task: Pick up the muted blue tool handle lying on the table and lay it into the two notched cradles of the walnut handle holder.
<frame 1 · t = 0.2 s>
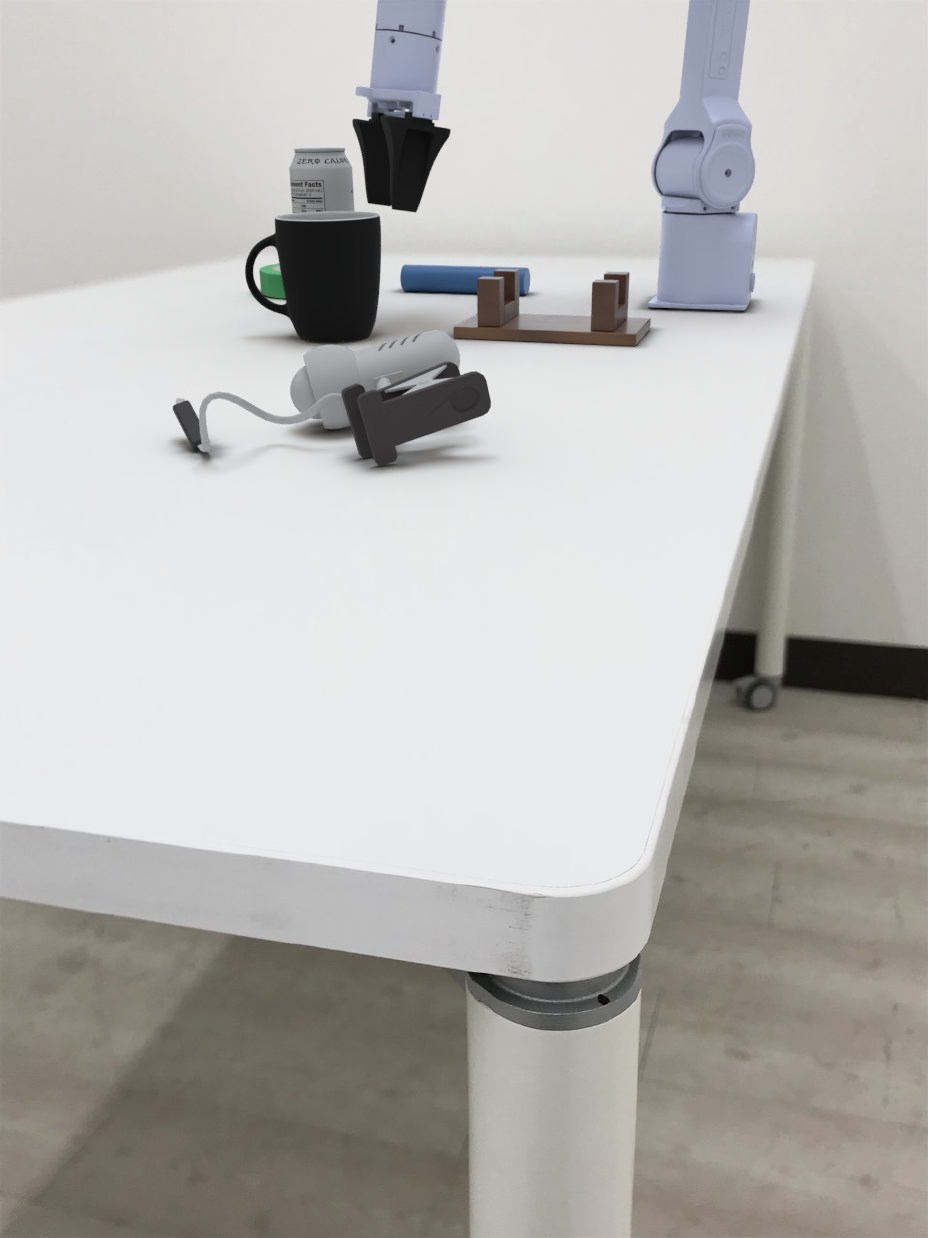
hand: (391, 207, 98), 10 cm above the table, tool pointing down, fingers open, 7 cm apart
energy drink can: (329, 311, 112), on the table
tape roll: (311, 293, 123), on the table
mug: (318, 338, 98), on the table
clip-on lamp: (328, 446, 67), on the table
holder: (553, 333, 98), on the table
handle: (465, 292, 121), on the table
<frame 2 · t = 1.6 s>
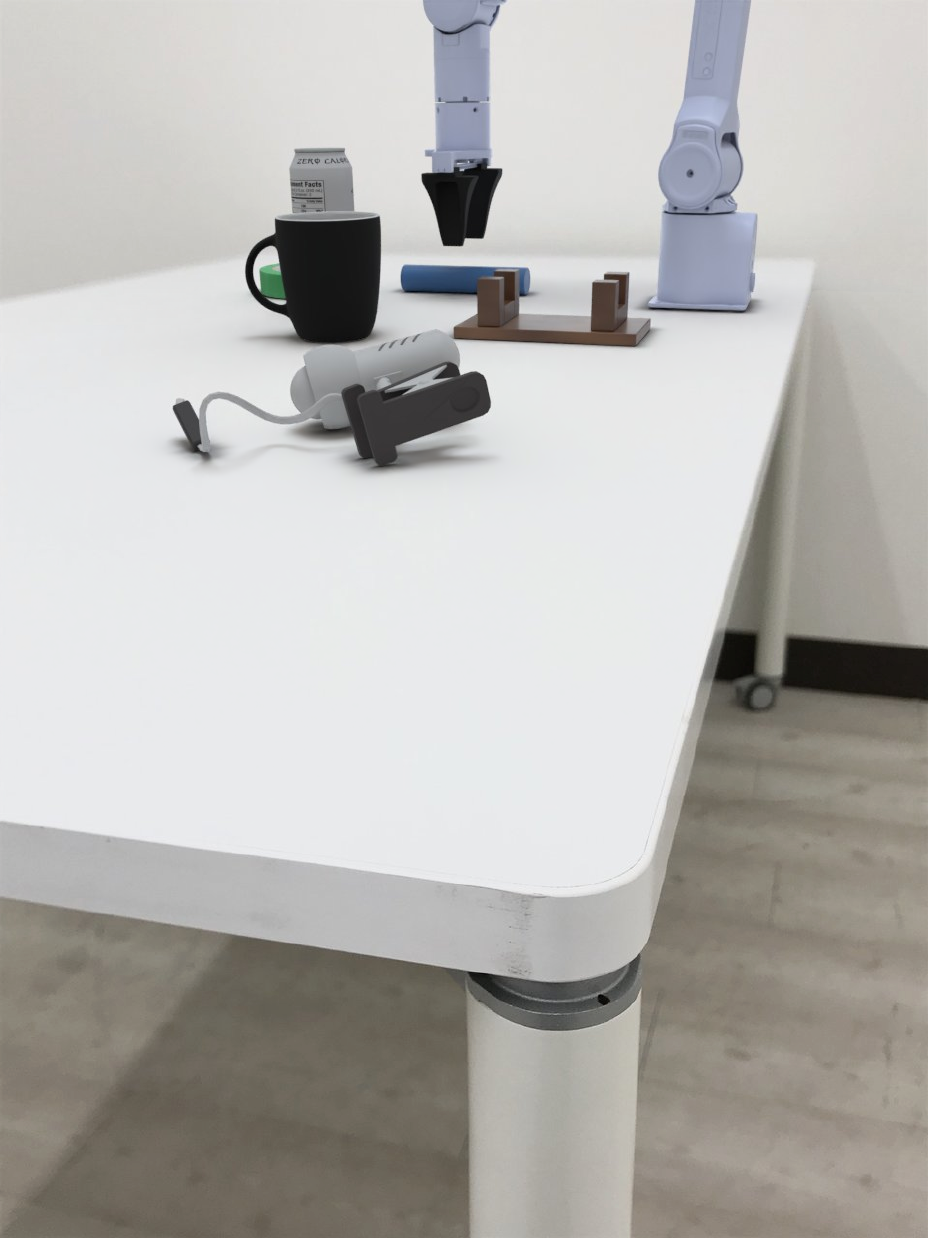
hand: (463, 241, 119), 5 cm above the table, tool pointing down, fingers open, 7 cm apart
nothing on the table moved.
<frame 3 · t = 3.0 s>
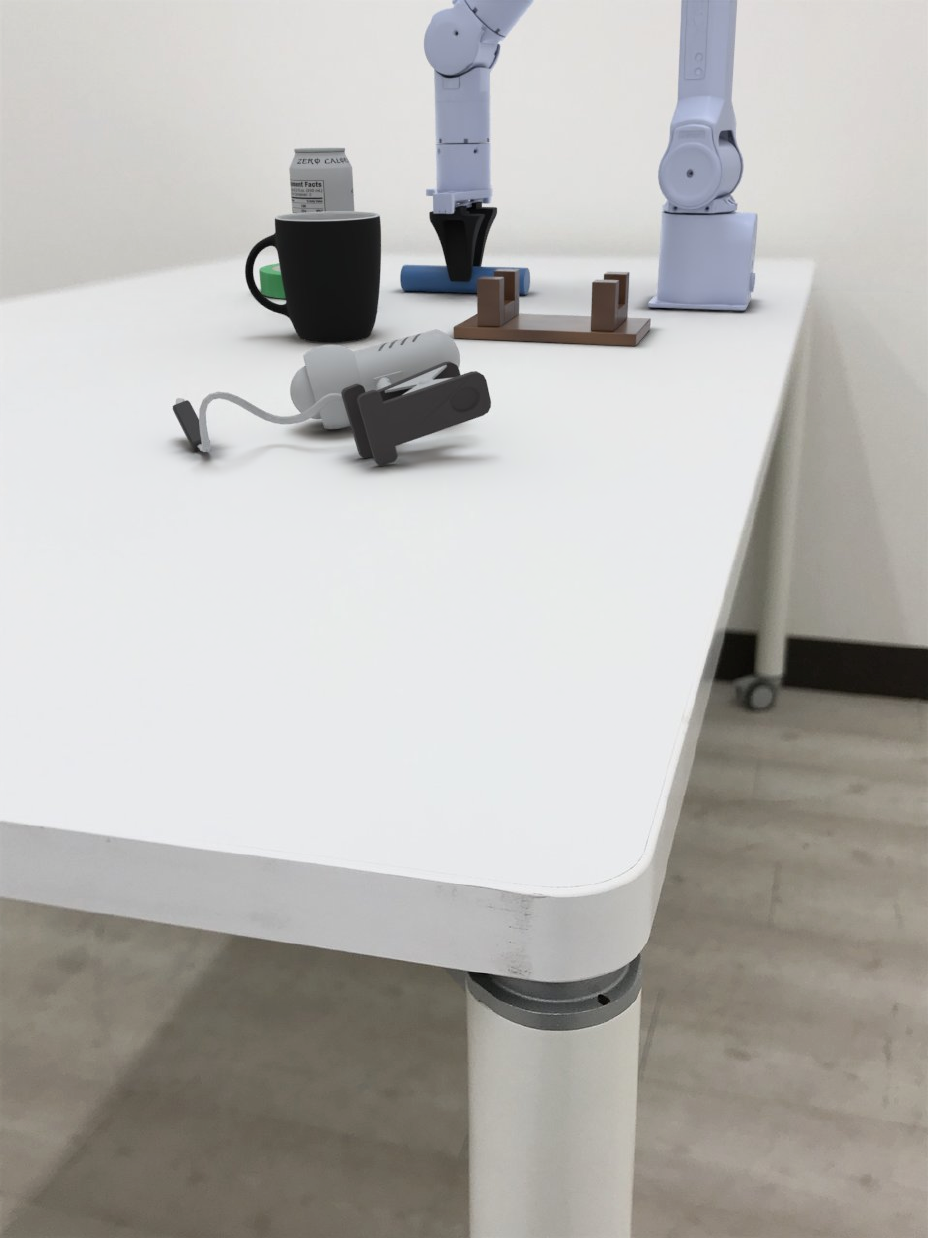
hand: (464, 278, 121), 1 cm above the table, tool pointing down, fingers closed on handle, 3 cm apart
handle: (464, 292, 121), on the table, touching gripper
everything else where it was.
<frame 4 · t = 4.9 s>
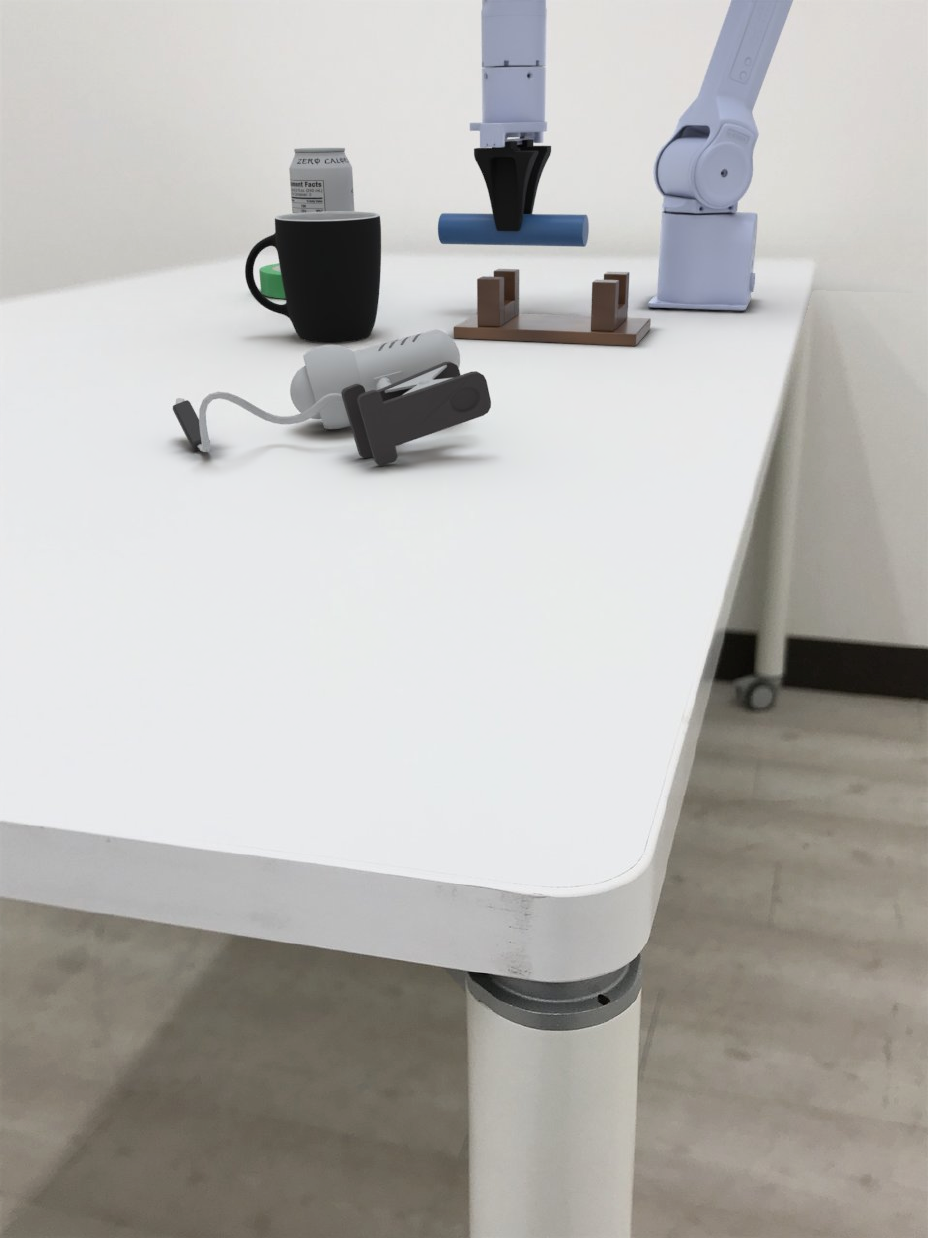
hand: (513, 229, 104), 8 cm above the table, tool pointing down, fingers closed on handle, 3 cm apart
handle: (512, 245, 105), point 6 cm above the table, touching gripper
everything else where it was.
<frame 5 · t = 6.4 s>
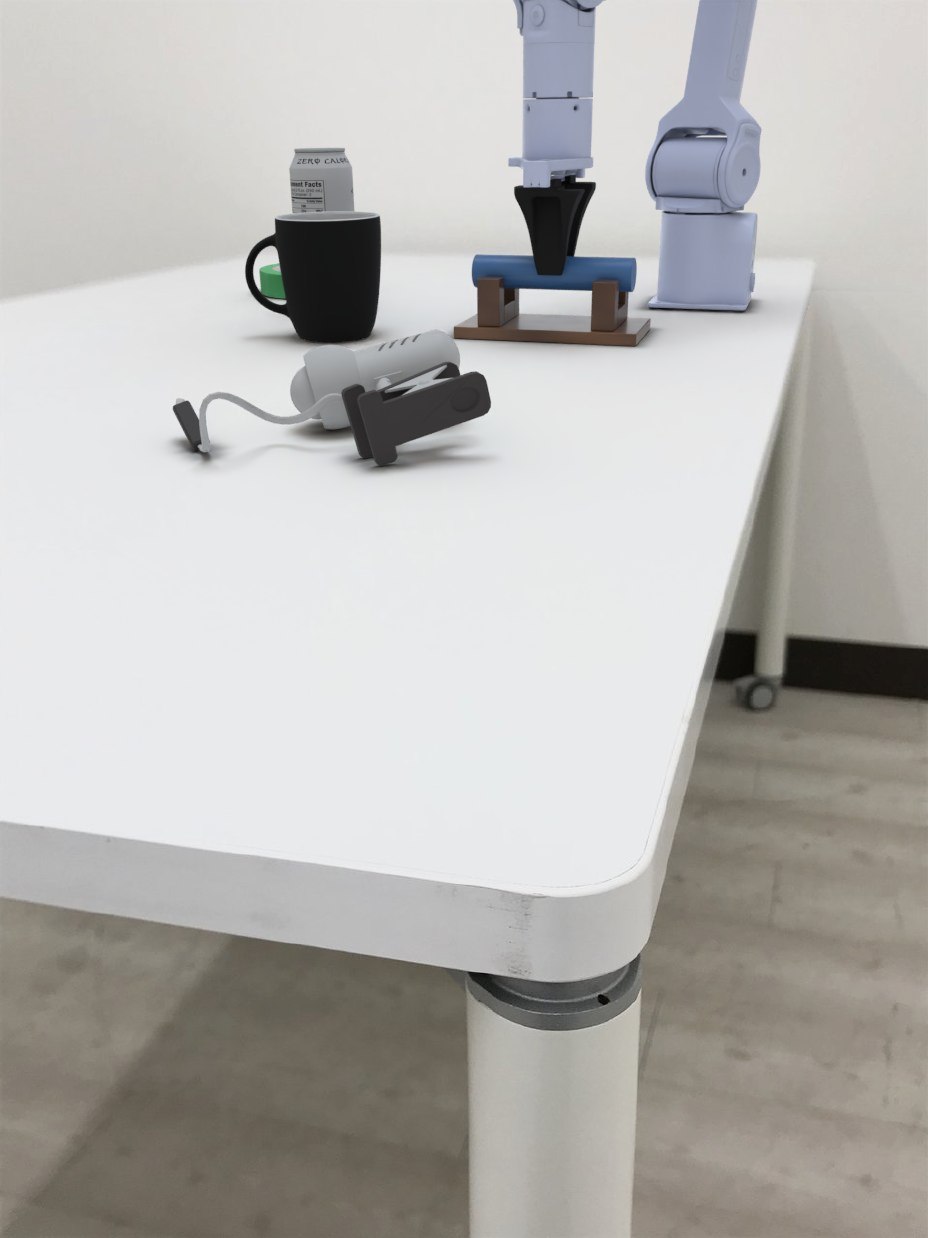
hand: (554, 272, 96), 5 cm above the table, tool pointing down, fingers closed on handle, 3 cm apart
handle: (553, 289, 96), point 4 cm above the table, touching gripper
everything else where it was.
when the fingers open (4 cm above the table, at t = 7.2 s): handle stays where it is, resting on holder.
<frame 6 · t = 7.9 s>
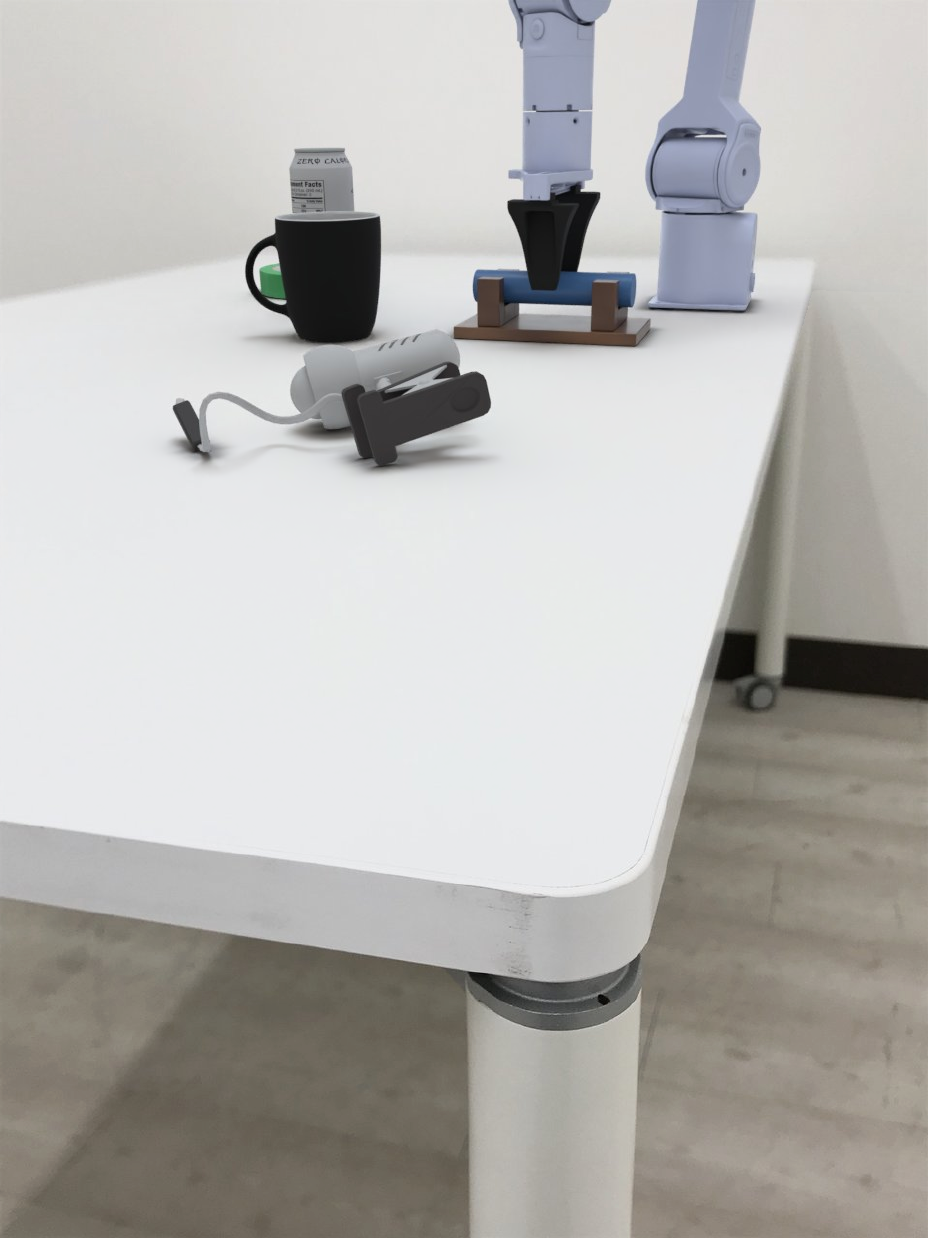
hand: (554, 283, 96), 4 cm above the table, tool pointing down, fingers open, 7 cm apart
handle: (552, 304, 97), point 3 cm above the table, tilted 12°, touching holder
everything else where it was.
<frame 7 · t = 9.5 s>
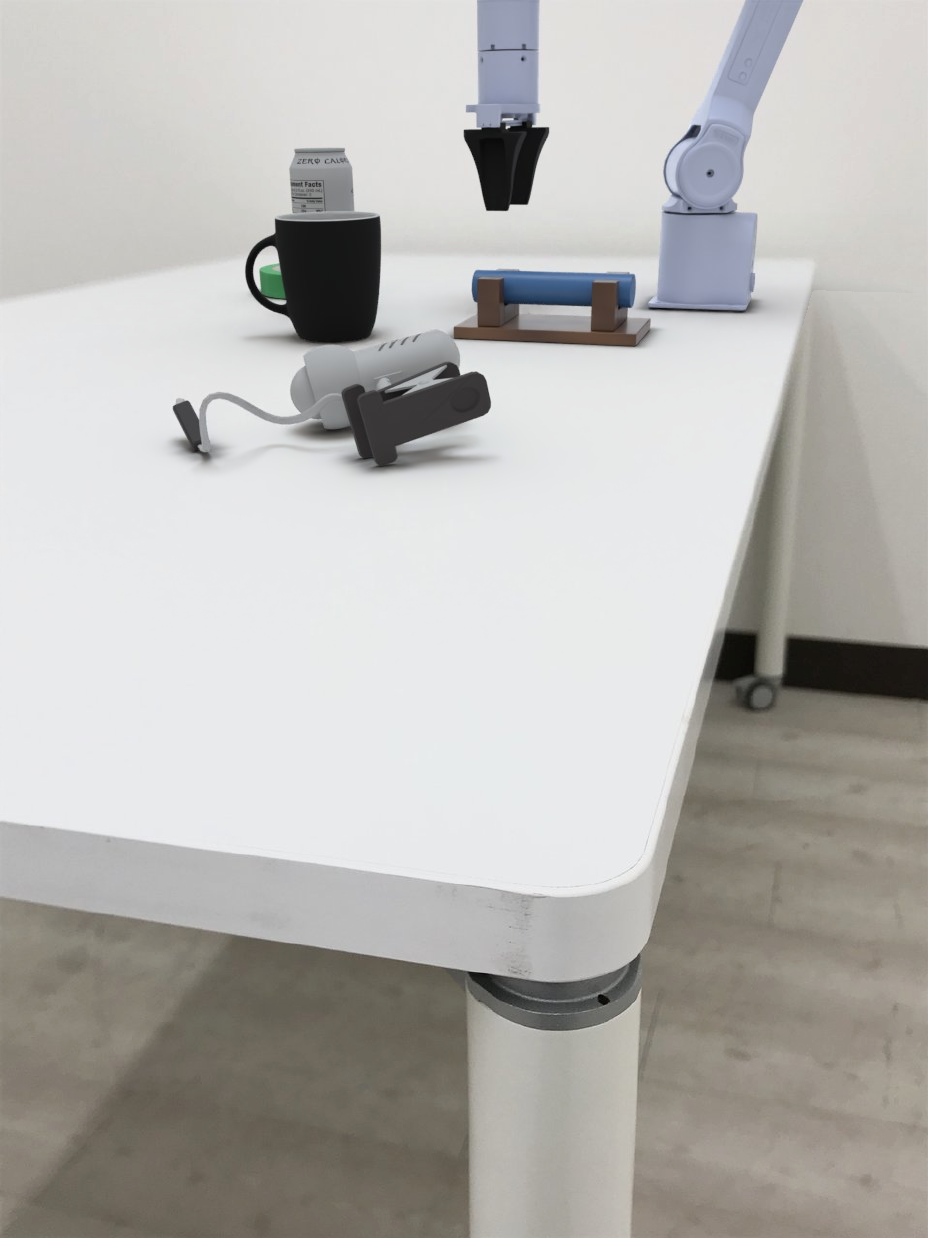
hand: (507, 207, 108), 9 cm above the table, tool pointing down, fingers open, 7 cm apart
handle: (552, 304, 97), point 3 cm above the table, touching holder
everything else where it was.
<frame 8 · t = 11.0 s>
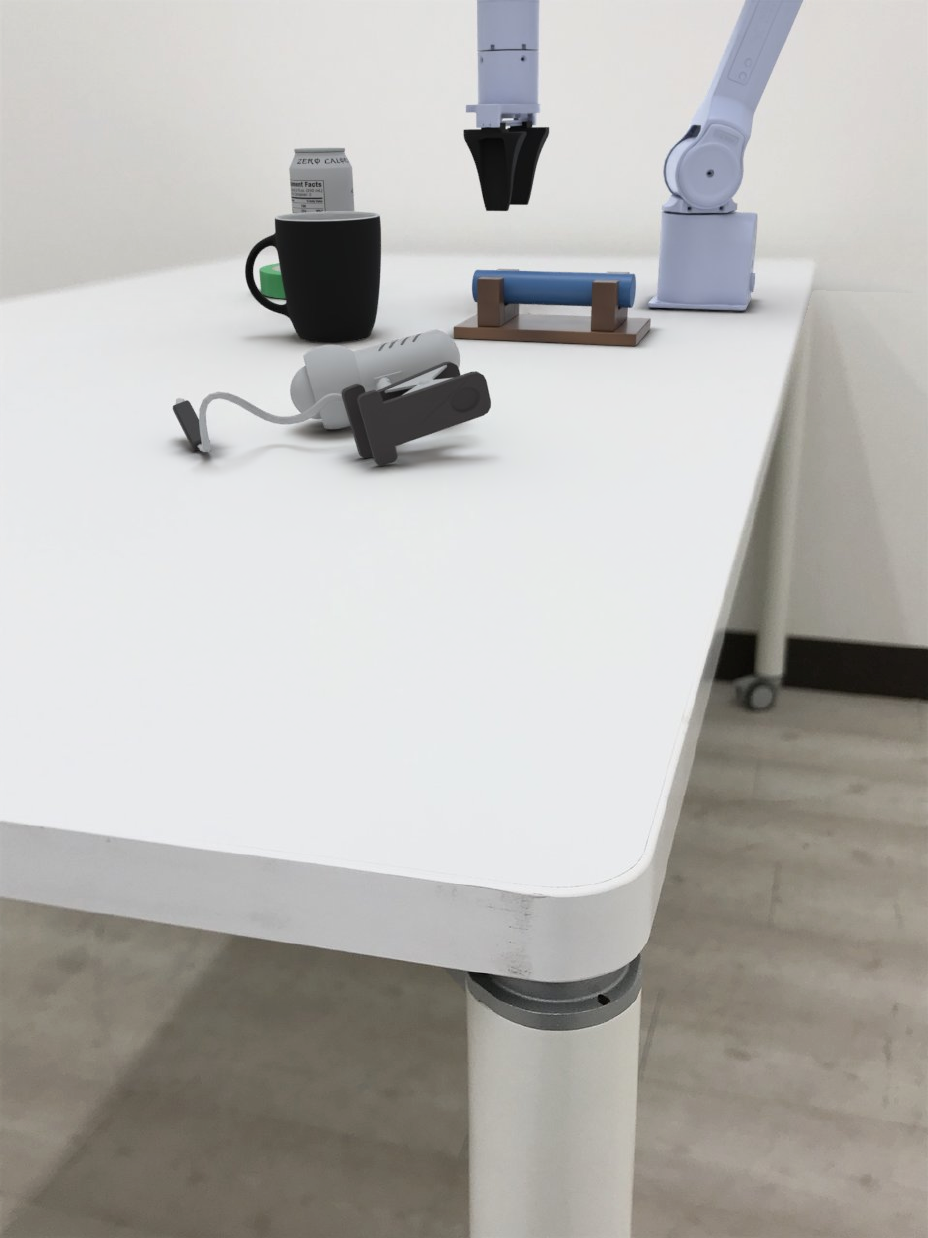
hand: (507, 207, 108), 9 cm above the table, tool pointing down, fingers open, 7 cm apart
nothing on the table moved.
at the end: handle 0.1 cm off-centre on the holder, point 2.5 cm above the holder's base; handle touching holder; the gripper is holding nothing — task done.
